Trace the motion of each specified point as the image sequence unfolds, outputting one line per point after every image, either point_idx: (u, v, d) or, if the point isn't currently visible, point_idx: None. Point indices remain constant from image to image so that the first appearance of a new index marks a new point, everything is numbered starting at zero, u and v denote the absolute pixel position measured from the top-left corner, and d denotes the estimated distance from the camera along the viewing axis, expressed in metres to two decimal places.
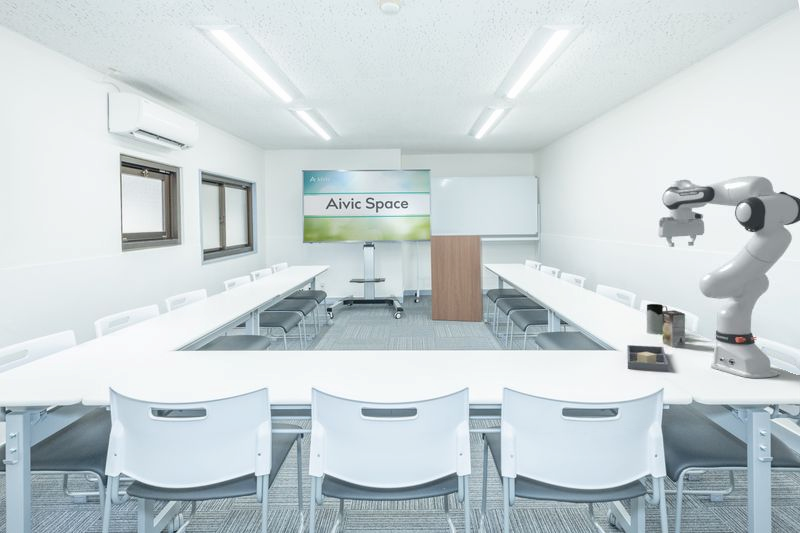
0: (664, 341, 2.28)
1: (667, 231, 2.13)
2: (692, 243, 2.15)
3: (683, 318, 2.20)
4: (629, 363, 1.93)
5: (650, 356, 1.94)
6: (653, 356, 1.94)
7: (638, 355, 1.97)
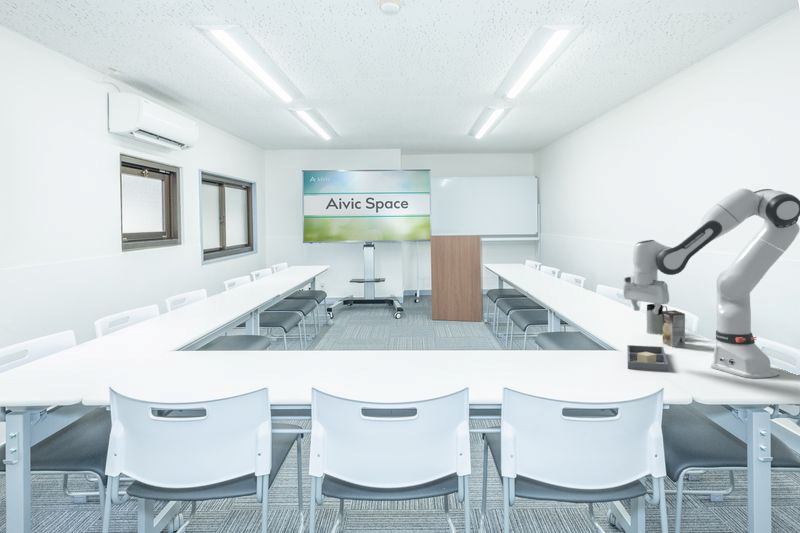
0: (664, 341, 2.28)
1: None
2: None
3: (683, 318, 2.20)
4: (629, 363, 1.93)
5: (650, 356, 1.94)
6: (653, 356, 1.94)
7: (638, 355, 1.97)
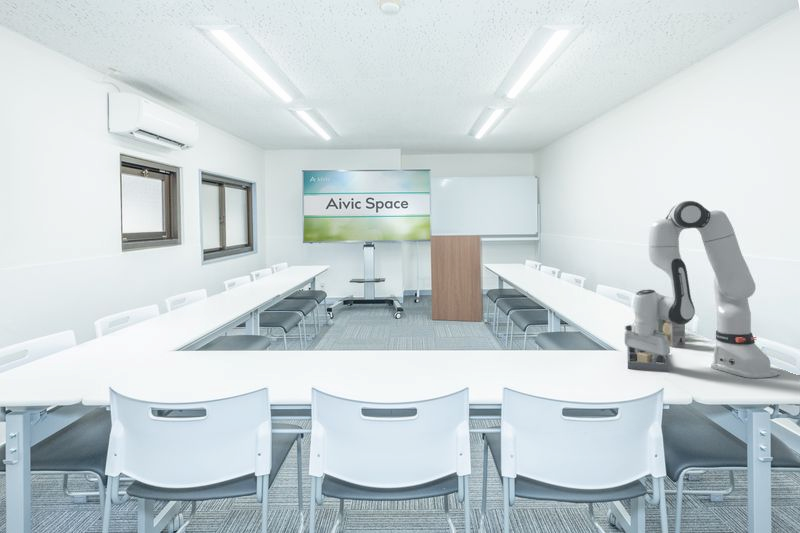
0: None
1: None
2: None
3: None
4: (629, 363, 1.93)
5: (650, 356, 1.94)
6: None
7: (638, 355, 1.97)
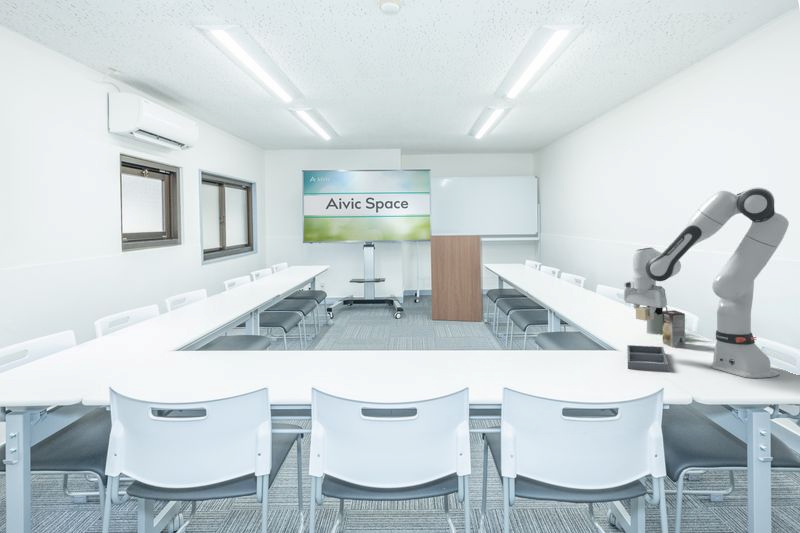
0: (664, 341, 2.28)
1: None
2: None
3: (683, 318, 2.20)
4: (629, 363, 1.93)
5: (648, 310, 2.05)
6: (650, 309, 2.05)
7: (636, 309, 2.08)
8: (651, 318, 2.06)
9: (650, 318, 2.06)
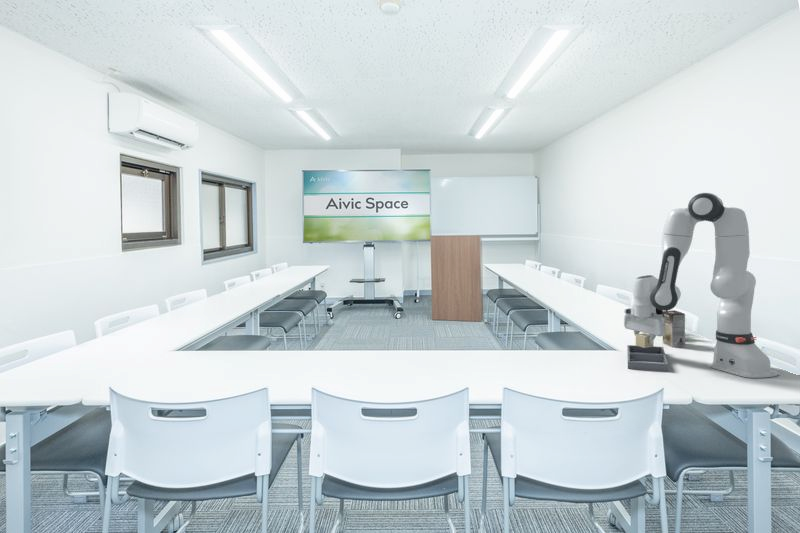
0: (664, 341, 2.28)
1: None
2: None
3: (683, 318, 2.20)
4: (629, 363, 1.93)
5: (648, 337, 2.06)
6: None
7: (636, 336, 2.10)
8: (651, 345, 2.07)
9: (650, 345, 2.07)
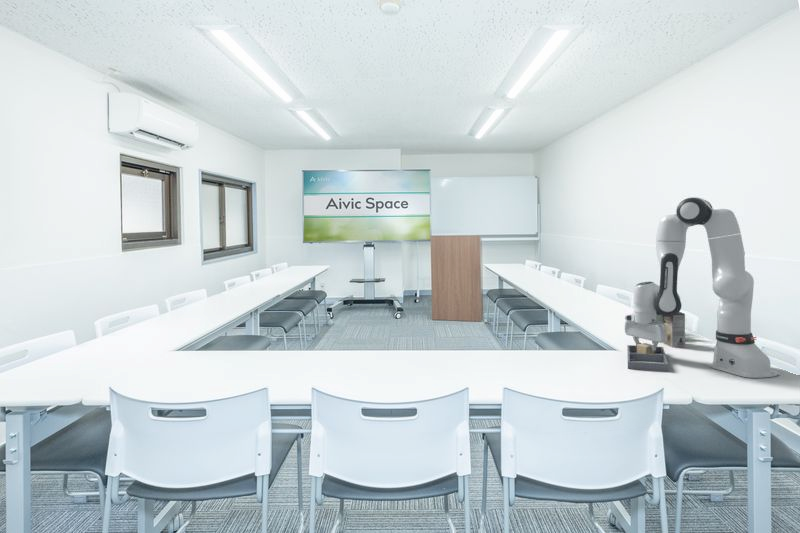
0: None
1: None
2: None
3: (683, 318, 2.20)
4: (629, 363, 1.93)
5: (649, 347, 2.06)
6: None
7: (637, 346, 2.10)
8: None
9: None
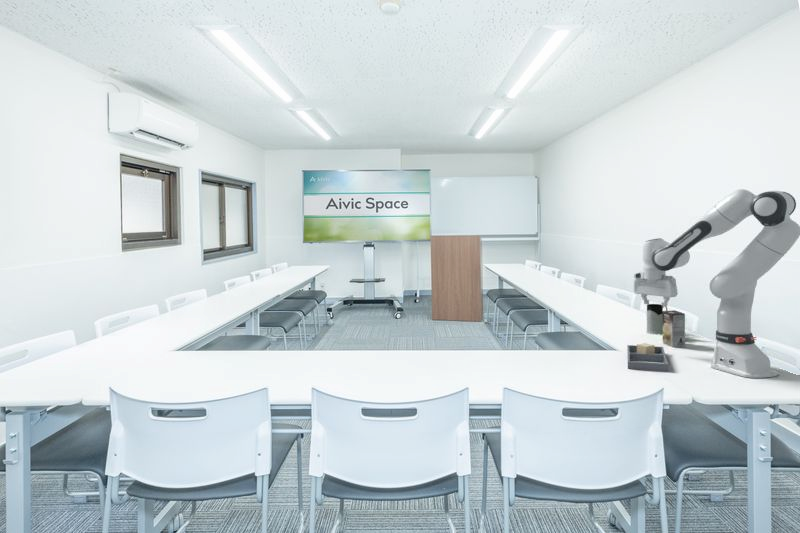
0: (664, 341, 2.28)
1: None
2: None
3: (683, 318, 2.20)
4: (629, 363, 1.93)
5: (649, 347, 2.06)
6: (651, 347, 2.07)
7: (637, 346, 2.10)
8: None
9: None
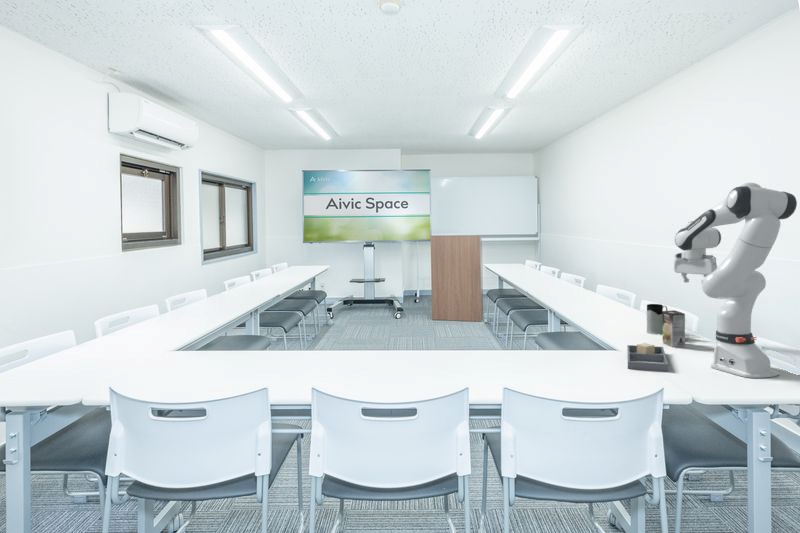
0: (664, 341, 2.28)
1: None
2: None
3: (683, 318, 2.20)
4: (629, 363, 1.93)
5: (649, 347, 2.06)
6: (651, 347, 2.07)
7: (637, 346, 2.10)
8: None
9: None
